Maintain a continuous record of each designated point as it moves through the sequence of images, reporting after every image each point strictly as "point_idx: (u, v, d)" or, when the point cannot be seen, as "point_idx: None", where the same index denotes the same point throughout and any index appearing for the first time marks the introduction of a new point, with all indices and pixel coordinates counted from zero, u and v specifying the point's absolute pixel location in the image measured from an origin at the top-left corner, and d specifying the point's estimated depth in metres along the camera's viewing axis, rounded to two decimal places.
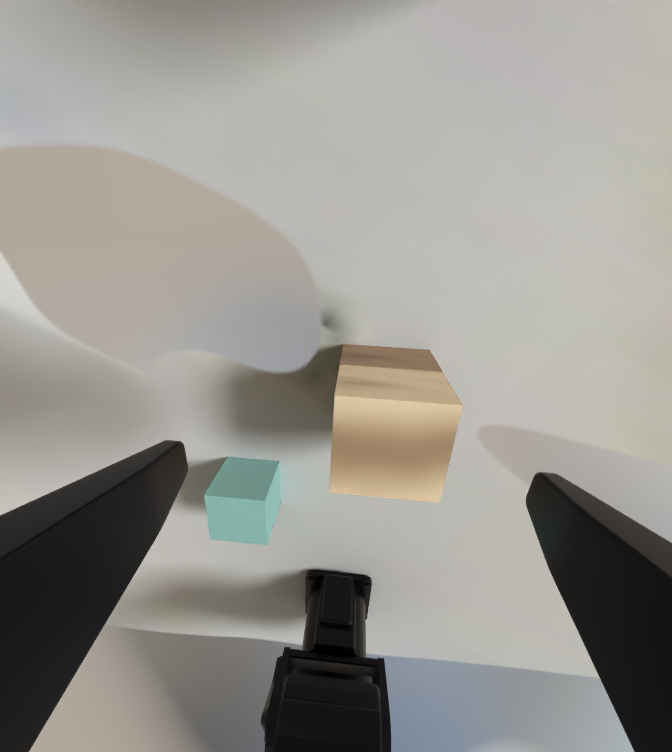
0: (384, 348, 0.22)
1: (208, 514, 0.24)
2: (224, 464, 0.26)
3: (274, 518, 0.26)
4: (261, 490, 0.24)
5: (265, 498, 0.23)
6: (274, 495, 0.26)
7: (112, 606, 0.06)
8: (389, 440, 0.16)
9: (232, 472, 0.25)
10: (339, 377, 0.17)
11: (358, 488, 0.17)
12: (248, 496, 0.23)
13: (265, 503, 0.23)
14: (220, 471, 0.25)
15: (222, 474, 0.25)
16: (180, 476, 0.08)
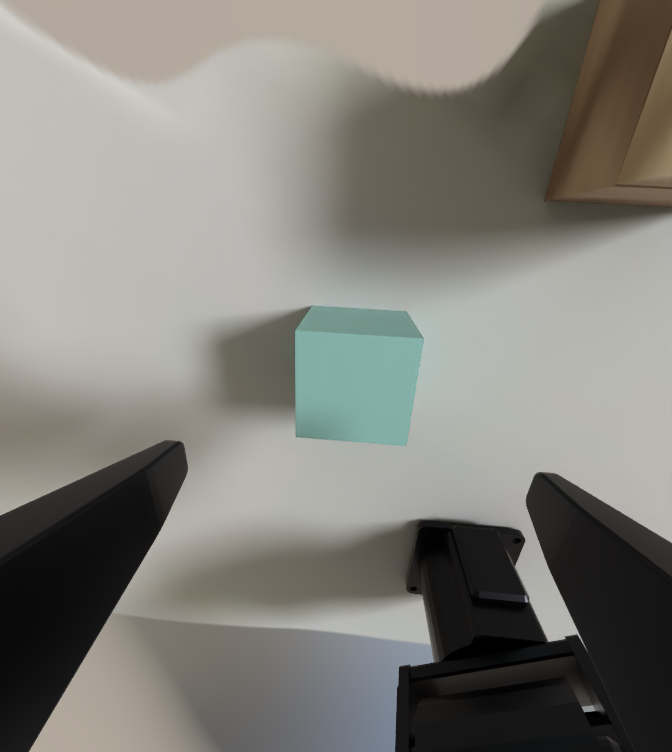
0: None
1: (298, 378, 0.12)
2: (312, 310, 0.14)
3: None
4: (404, 330, 0.12)
5: (420, 337, 0.11)
6: None
7: (112, 606, 0.06)
8: None
9: (333, 316, 0.13)
10: None
11: None
12: (385, 333, 0.11)
13: (420, 347, 0.11)
14: (310, 314, 0.13)
15: (315, 316, 0.13)
16: (180, 476, 0.08)
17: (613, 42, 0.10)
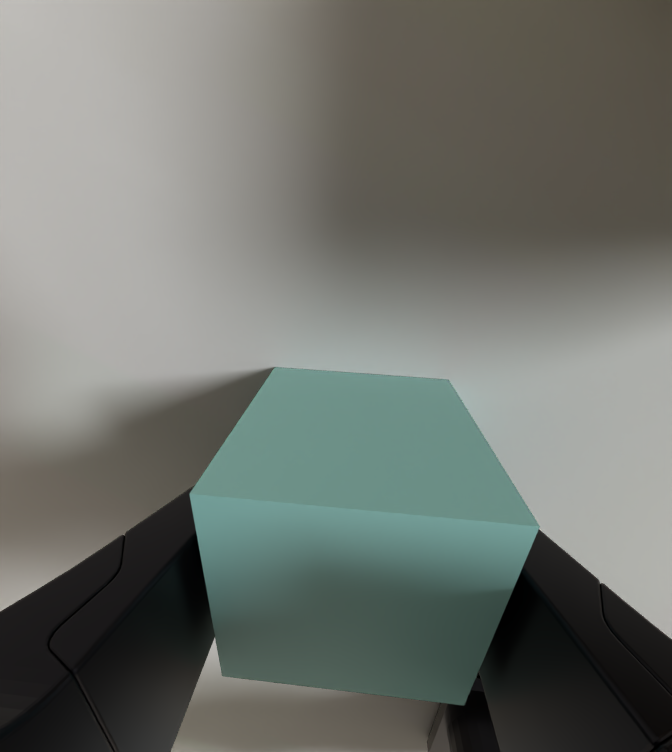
0: None
1: (214, 586, 0.05)
2: (269, 384, 0.07)
3: None
4: (470, 470, 0.05)
5: (522, 510, 0.04)
6: None
7: None
8: None
9: (306, 405, 0.06)
10: None
11: None
12: (430, 499, 0.04)
13: None
14: (259, 401, 0.06)
15: (268, 411, 0.06)
16: None
17: None
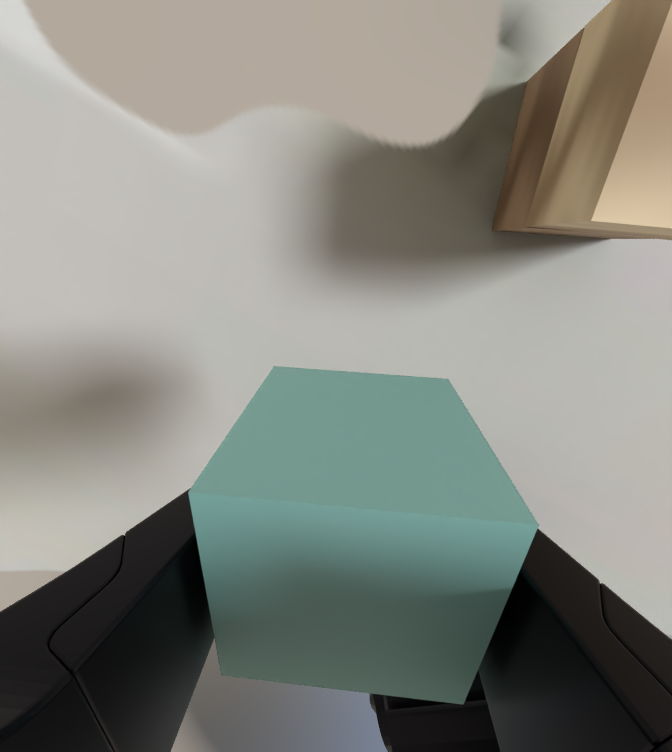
0: None
1: (213, 585, 0.05)
2: (268, 383, 0.07)
3: None
4: (469, 469, 0.05)
5: (522, 509, 0.04)
6: None
7: None
8: None
9: (305, 404, 0.06)
10: None
11: (654, 208, 0.09)
12: (430, 498, 0.04)
13: None
14: (258, 400, 0.06)
15: (267, 410, 0.06)
16: None
17: (531, 121, 0.13)
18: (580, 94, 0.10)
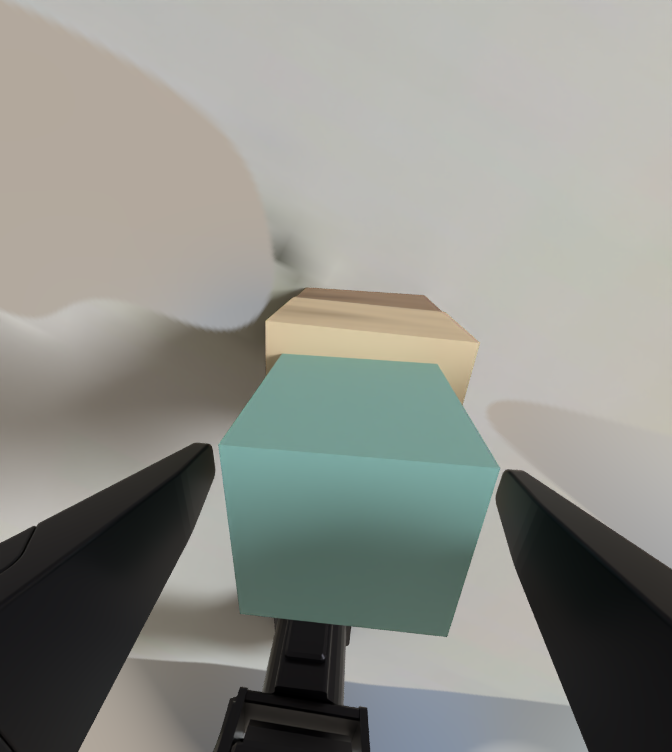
0: (362, 292, 0.16)
1: (236, 528, 0.06)
2: (278, 367, 0.08)
3: None
4: (448, 431, 0.06)
5: (488, 459, 0.05)
6: None
7: (149, 611, 0.06)
8: None
9: (311, 383, 0.07)
10: (285, 306, 0.11)
11: None
12: (414, 450, 0.05)
13: None
14: (270, 380, 0.07)
15: (278, 387, 0.07)
16: (209, 479, 0.08)
17: None
18: None
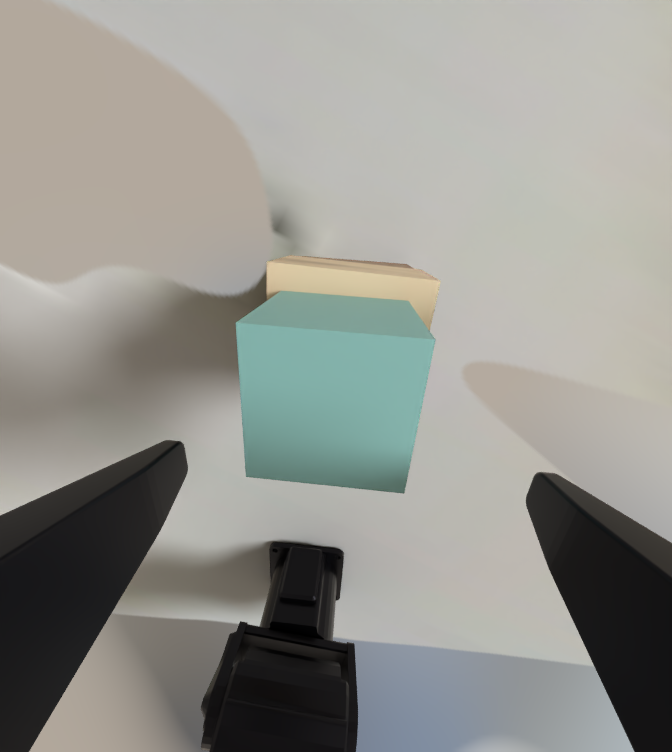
0: (352, 260, 0.18)
1: (245, 395, 0.08)
2: (278, 295, 0.10)
3: None
4: (405, 326, 0.08)
5: None
6: None
7: (112, 606, 0.06)
8: None
9: (304, 303, 0.09)
10: (283, 258, 0.13)
11: None
12: (376, 331, 0.07)
13: None
14: (272, 300, 0.09)
15: (278, 304, 0.09)
16: (180, 476, 0.08)
17: None
18: None
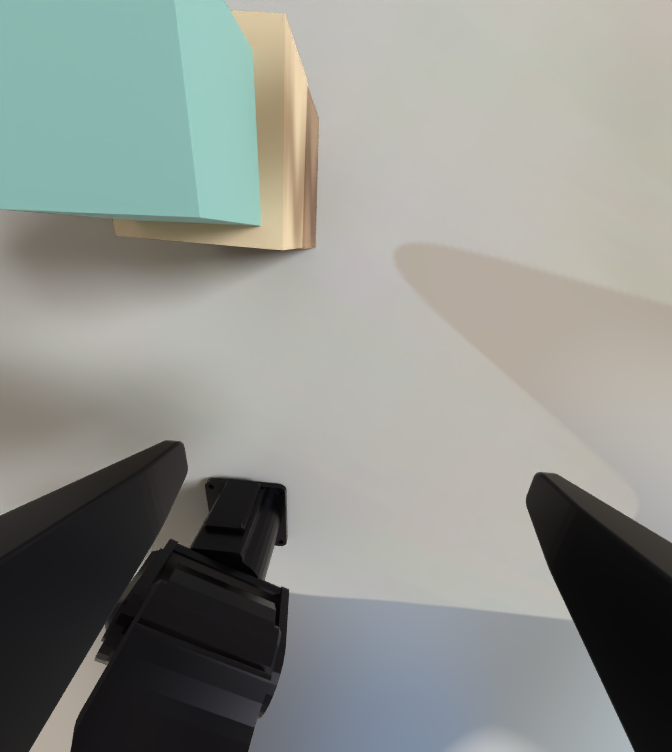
0: None
1: None
2: None
3: (236, 209, 0.09)
4: None
5: None
6: (232, 107, 0.08)
7: (112, 606, 0.06)
8: None
9: None
10: None
11: (156, 225, 0.11)
12: None
13: None
14: None
15: None
16: (180, 476, 0.08)
17: None
18: None
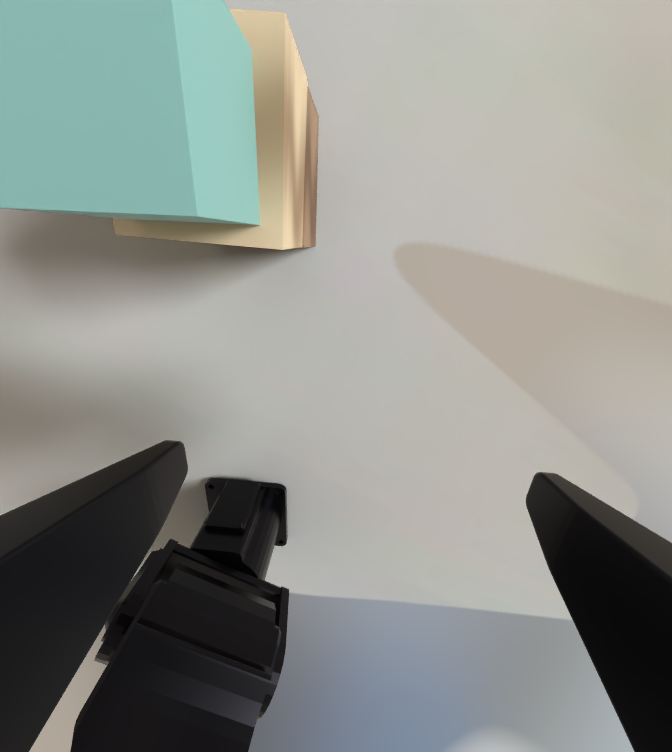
0: None
1: None
2: None
3: (234, 208, 0.09)
4: None
5: None
6: (230, 105, 0.08)
7: (112, 606, 0.06)
8: None
9: None
10: None
11: (156, 224, 0.11)
12: None
13: None
14: None
15: None
16: (180, 476, 0.08)
17: None
18: None
